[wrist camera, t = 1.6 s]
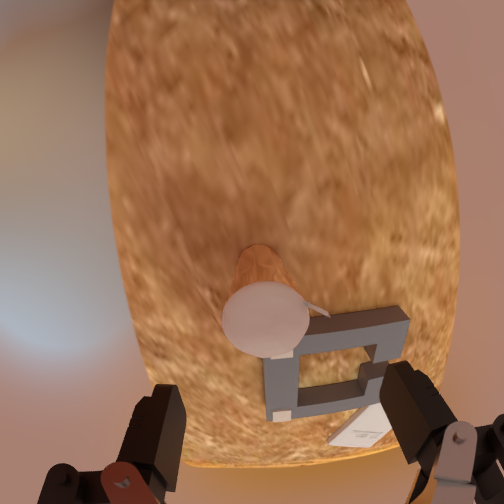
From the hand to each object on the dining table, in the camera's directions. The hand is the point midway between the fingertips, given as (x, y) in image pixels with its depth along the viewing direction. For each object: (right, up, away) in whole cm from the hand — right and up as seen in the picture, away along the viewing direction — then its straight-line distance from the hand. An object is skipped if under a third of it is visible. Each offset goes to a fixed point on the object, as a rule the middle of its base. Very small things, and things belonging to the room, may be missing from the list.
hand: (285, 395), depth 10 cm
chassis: (+6, -5, +16) cm, 18 cm away
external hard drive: (+15, -16, +21) cm, 30 cm away
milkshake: (0, +5, +13) cm, 14 cm away
